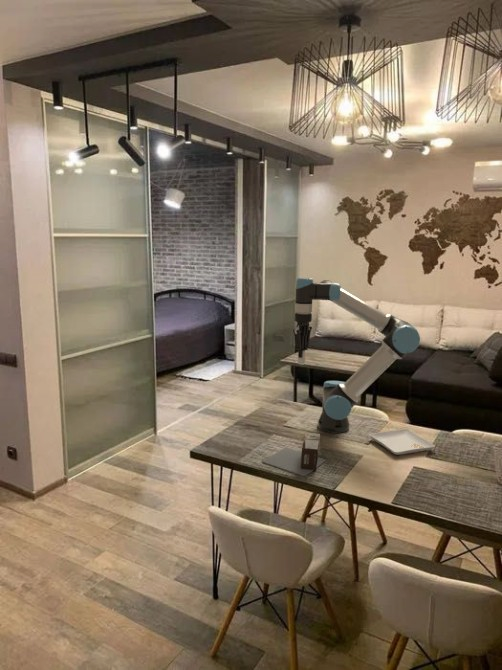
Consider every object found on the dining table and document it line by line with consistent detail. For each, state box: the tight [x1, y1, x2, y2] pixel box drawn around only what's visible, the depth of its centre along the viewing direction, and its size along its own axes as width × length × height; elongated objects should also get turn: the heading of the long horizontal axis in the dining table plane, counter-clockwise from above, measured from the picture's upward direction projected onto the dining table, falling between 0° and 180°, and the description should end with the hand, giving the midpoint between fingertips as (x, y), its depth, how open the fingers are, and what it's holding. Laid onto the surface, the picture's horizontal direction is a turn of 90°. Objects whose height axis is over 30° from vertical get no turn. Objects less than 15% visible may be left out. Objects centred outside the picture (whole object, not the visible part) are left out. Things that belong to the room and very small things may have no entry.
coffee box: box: [301, 432, 321, 471], centre depth 206 cm, size 9×6×16 cm
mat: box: [261, 446, 327, 478], centre depth 207 cm, size 18×20×1 cm
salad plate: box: [368, 428, 436, 456], centre depth 225 cm, size 21×21×3 cm
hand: (301, 364), depth 228 cm, fingers closed
